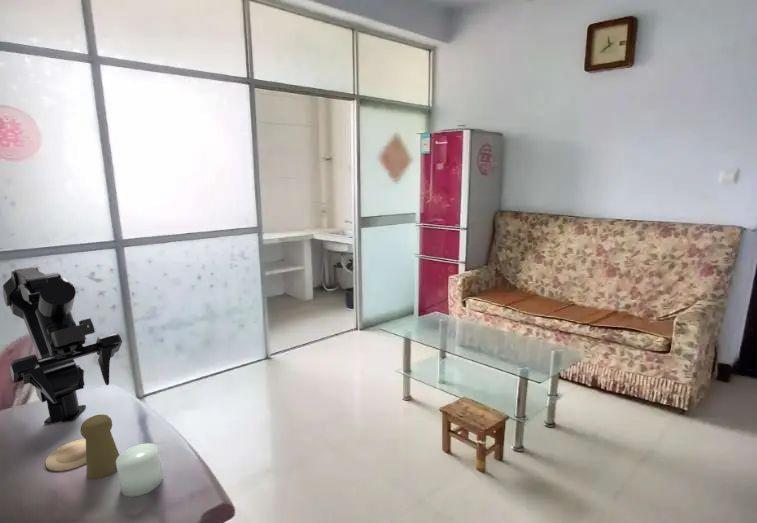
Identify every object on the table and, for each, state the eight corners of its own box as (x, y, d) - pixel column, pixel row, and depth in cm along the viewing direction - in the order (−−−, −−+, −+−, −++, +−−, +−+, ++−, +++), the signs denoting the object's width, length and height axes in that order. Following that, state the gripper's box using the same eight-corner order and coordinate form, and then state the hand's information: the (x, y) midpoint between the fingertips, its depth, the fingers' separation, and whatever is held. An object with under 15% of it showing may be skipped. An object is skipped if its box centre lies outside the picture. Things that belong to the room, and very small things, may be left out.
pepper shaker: (105, 480, 83) (95, 429, 80) (78, 477, 84) (68, 426, 82) (129, 459, 89) (120, 411, 86) (103, 456, 90) (94, 408, 87)
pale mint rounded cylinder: (129, 473, 85) (124, 446, 83) (167, 468, 86) (163, 441, 85) (114, 499, 78) (109, 470, 77) (156, 493, 79) (151, 464, 78)
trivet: (62, 443, 95) (61, 440, 95) (111, 437, 96) (111, 434, 96) (35, 474, 85) (34, 471, 85) (90, 467, 87) (90, 464, 87)
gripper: (1, 322, 80) (26, 399, 76) (113, 298, 94) (139, 362, 90) (1, 346, 87) (24, 418, 84) (105, 320, 101) (129, 381, 97)
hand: (82, 393), depth 88 cm, fingers open, 9 cm apart
